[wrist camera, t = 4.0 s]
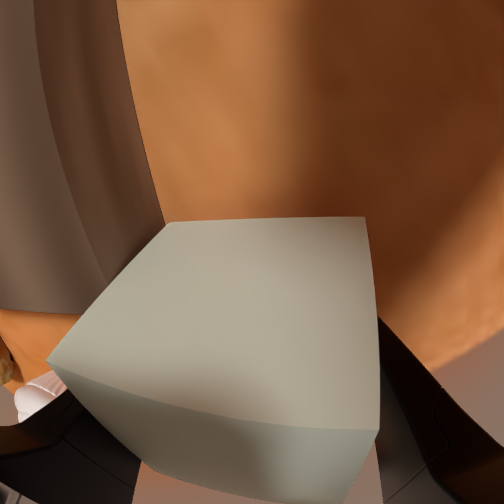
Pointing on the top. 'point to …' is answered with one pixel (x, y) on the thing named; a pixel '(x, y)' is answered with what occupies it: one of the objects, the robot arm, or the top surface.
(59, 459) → the robot arm
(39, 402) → the muffin
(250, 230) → the sage cube
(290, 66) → the top surface
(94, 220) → the walnut base
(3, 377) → the pastry
